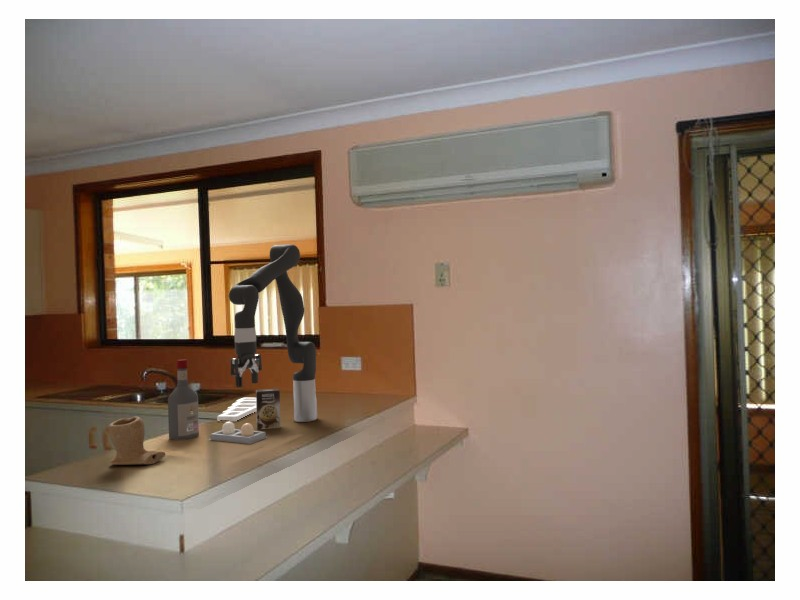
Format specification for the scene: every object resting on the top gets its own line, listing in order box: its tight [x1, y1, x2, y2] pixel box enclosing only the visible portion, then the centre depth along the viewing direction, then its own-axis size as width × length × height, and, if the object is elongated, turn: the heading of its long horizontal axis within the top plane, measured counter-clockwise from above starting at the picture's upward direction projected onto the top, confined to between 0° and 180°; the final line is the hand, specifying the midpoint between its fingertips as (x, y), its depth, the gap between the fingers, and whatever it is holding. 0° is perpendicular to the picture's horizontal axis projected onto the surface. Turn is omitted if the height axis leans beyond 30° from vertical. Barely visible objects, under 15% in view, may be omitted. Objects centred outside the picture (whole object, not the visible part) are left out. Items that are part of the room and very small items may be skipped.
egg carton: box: [208, 428, 268, 445], centre depth 206 cm, size 10×19×4 cm, turn 66°
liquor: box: [167, 359, 200, 441], centre depth 212 cm, size 9×9×30 cm
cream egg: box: [221, 421, 236, 435], centre depth 208 cm, size 4×4×6 cm
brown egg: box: [240, 422, 255, 437], centre depth 204 cm, size 4×4×6 cm
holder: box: [216, 397, 256, 422], centre depth 267 cm, size 45×18×3 cm, turn 170°
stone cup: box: [107, 415, 166, 466], centre depth 182 cm, size 15×12×15 cm
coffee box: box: [255, 388, 281, 431], centre depth 224 cm, size 9×6×16 cm
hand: (247, 385), depth 206 cm, fingers open, 8 cm apart
